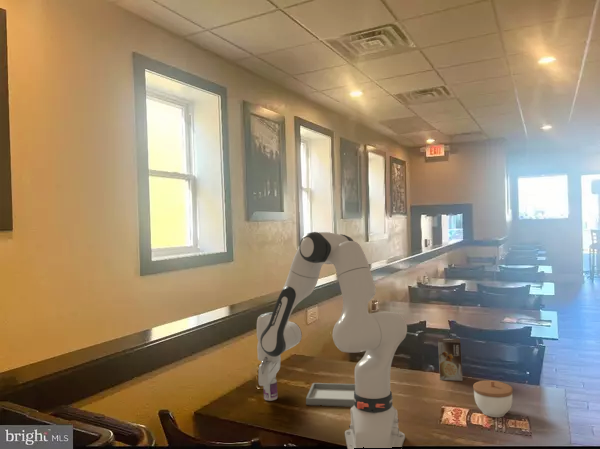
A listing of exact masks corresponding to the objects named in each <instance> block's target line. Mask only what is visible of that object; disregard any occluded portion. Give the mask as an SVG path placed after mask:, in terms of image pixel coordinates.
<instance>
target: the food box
mask: <svg viewBox="0 0 600 449" xmlns="http://www.w3.org/2000/svg"><path fill="white" fill-rule="evenodd" d="M437 340H438V341H437V343H438V344H437V346H438V349H437V350H438V366H439V368H438V369H439V371H438V372H439V380H440V381H458V382H459V381H460V382H463V380H464V379H463V364H462V362H463V361H462V348H461V345H462V344H461V338H448V337H447V338H446V337H445V338H443V337H441V338H440V337H438V338H437Z"/></svg>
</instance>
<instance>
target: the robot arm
mask: <svg viewBox="0 0 600 449" xmlns="http://www.w3.org/2000/svg"><path fill="white" fill-rule="evenodd" d="M324 264H325V265H333V266H334V268H335V271H336V276H337V280H338V283H339V288H340V293H341V296H342V297H341V298H342V310H341V314H340V316H339V318H338V320H337V321H336V322H335V324H334V326H333V329H332V340H333V343H334V345H335V347H337V349H338V350H339V351H341V352H342V353H360V352H365V353H364V355H363V356H362V358H361V359H360V360H359V361H358V362H357V363H356V365H355V367H354V384H355V391H354V406H353V407H350V424H349V426H348V427H349V429H346V430H345V431H344V439H345V444H346V448H347V449H354V448H363V447H364V448H392V447H402V448H403V445H404V441H405V439H406V436H405V433H403V431H400V428H399V421H400V420H399V418H398V410H397V408H395V407H394V406H393V392H392V391H391V367H392V363H393V359H394V356H395V354H396V351H397V349H398V347H399V346H400V344H401V343H402V342H403V341H404V339H406V337H407V334H408V325H407V322H406V320H405V317H404V316H403V315H402V314H400V313H399V312H397V311H387V310H385V311H377V312H369V302H370V301H372V299H373V298H374V297H375V295H376V292H377V288H376V283H375V280H374V277H373V275H372V272H371V267H370V265H369V262H368V259H367V257H366V254H365V251H364V250H363V248H362V247H361V245H360V243H358V242H357V241H354V240H353V238H351V237H350V236H348V235H346V234H341V233H340V234H339V233H334V232H330V231H328V232H327V231H324V232H317V231H313V232H308V233H305V234H304V235H303V236H302V237H301V239H300V241H299V246H298V247H297V250H296V252H295V254H294V256H293V258H292V262H291V264H290V267H289V271H288V274H287V277H286V280H285V282H284V285H283V287H282V289H281V291H280V292H279V293H280V294H279V296H278V298H277V300H276V303H275V306H274V309H273V311H270V312H265V313H262V314H260V315H259V316H258V317H257V320H256V337H257V338H256V339H257V346H256V347H257V348H256V349H257V351H256V352H257V360H258V361H260V362H261V363H260V364H259V366H258V382H257V383H258V385H259V386H260V387H263V386H264V387H265V392H266V393H270V391H271V387H270V382H271V381H272V379H273V378H274V374H275V379H276V380H277V377H276V376H277V373H278V372H279V370H280V369H281V360H282V359H281V355H282V354H283V353H284V352H286V351H289V350H290V349H292V348H294V347H295V346H297V345H298V344H300V342H301V341H302V337H303V334H302V330H301V328H300V326H299V325H298V324H297V323H296V322H293V321H290V317H291V315H292V313H293V310H294V309H295V307H297V305H298V304H299V303H301V302H302V301H303V300H304V299H306V298H308V297H309V296H310V295H311V294H312V293H313V292H314V289H315V288H316V286H317V283H318V281H319V277H320V273H321V270H322V267H323V266H324Z"/></svg>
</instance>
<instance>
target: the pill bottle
mask: <svg viewBox="0 0 600 449" xmlns="http://www.w3.org/2000/svg"><path fill="white" fill-rule="evenodd" d="M262 387H263V388H262V389H263V399H264V400H265V401H269V402H271V401H276V400H277V399H278V395H279V394H278V381H277V378H276V379H275V374H274V378H273V379H272V381H271V382H270V387H271V391H270V393H266V392H265V387H264V386H262Z"/></svg>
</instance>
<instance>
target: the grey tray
mask: <svg viewBox="0 0 600 449" xmlns="http://www.w3.org/2000/svg"><path fill="white" fill-rule="evenodd" d="M354 391H355V383H331V382H329V383H326V382H323V383H322V382H312V384H311V386H310V389H309V390H308V393H307V395H306V398H305V405H306V406H320V405H322V407H323V406H327V407H346V408H347V407H350V408H352V407H353V406H354Z"/></svg>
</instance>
